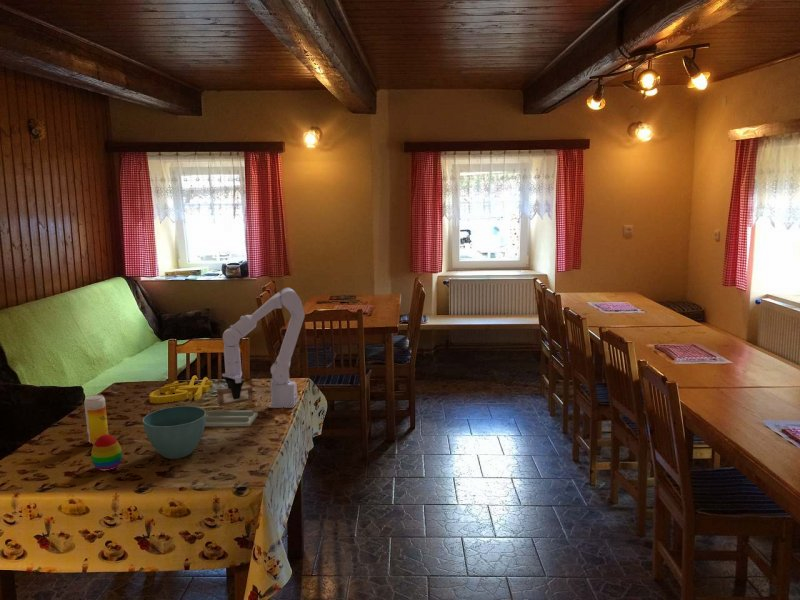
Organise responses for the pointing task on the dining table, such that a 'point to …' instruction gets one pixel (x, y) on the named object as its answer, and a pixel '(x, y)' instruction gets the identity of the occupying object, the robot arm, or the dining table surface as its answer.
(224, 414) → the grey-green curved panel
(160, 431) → the teal bowl
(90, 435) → the yellow bottle
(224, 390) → the brown box
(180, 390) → the decorative art
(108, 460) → the decorative egg
